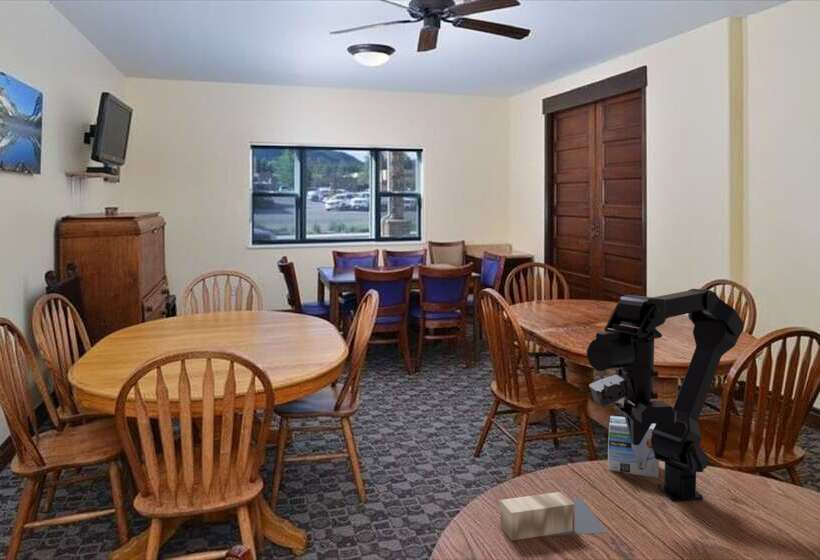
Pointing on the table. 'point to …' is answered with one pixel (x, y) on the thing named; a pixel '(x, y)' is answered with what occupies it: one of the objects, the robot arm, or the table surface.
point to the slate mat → (583, 520)
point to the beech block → (537, 515)
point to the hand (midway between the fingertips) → (635, 444)
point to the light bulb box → (630, 450)
